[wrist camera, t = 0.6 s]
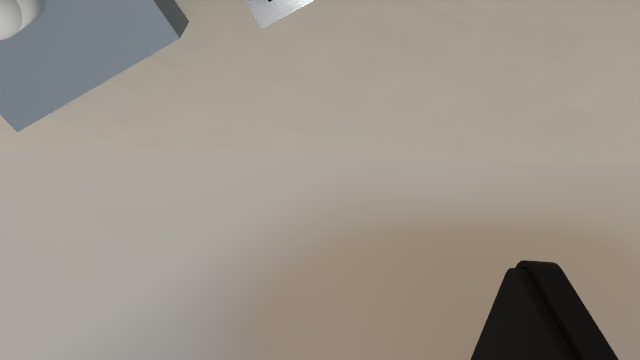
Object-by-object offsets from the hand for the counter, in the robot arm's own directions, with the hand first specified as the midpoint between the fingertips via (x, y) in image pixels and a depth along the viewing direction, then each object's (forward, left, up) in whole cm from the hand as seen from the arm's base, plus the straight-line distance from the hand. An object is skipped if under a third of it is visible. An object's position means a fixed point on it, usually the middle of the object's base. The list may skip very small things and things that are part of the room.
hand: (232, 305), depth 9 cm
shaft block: (+12, -6, -26) cm, 30 cm away
